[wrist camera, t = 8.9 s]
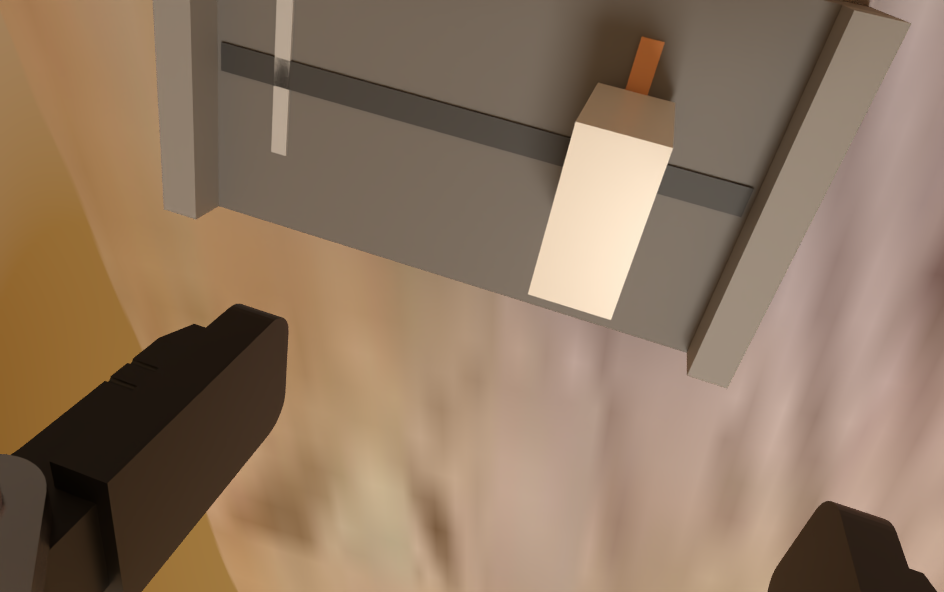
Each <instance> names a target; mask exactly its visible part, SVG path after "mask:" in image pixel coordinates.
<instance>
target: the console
mask: <svg viewBox="0 0 944 592" xmlns="http://www.w3.org/2000/svg"><path fill="white" fill-rule="evenodd" d="M153 15H154V34H155V52H156V71H157V89H158V108H159V127H160V145H161V164H162V182H163V201H164V209H165V210H168V211H171V212H174V213H177V214H181V215H184V216H187V217H190V218H193V219H197V218H199V217H201V216H202V215H204V214H206V213H208V212H209V211H211V210H213V209H214V208H216V207H218V206H220V207H224V208H227V209H230V210H233V211H236V212H240V213H243V214H246V215H249V216H252V217H256V218H259V219H262V220H265V221H268V222H272V223H275V224H278V225H281V226H284V227H287V228H291V229H294V230H297V231H300V232H303V233H307V234H310V235H313V236H316V237H319V238H323V239H326V240H329V241H332V242H335V243H339V244H342V245H345V246H348V247H351V248H354V249H358V250H361V251H364V252H367V253H370V254H374V255H377V256H380V257H383V258H386V259H390V260H393V261H396V262H399V263H402V264H405V265H409V266H412V267H415V268H418V269H421V270H425V271H428V272H431V273H434V274H437V275H441V276H444V277H447V278H450V279H453V280H457V281H460V282H463V283H466V284H469V285H472V286H476V287H479V288H482V289H485V290H488V291H492V292H495V293H498V294H501V295H504V296H508V297H511V298H514V299H517V300H520V301H524V302H527V303H530V304H533V305H536V306H539V307H543V308H546V309H549V310H552V311H555V312H559V313H562V314H565V315H568V316H571V317H575V318H578V319H581V320H584V321H587V322H590V323H594V324H597V325H600V326H603V327H606V328H610V329H613V330H616V331H619V332H622V333H626V334H629V335H632V336H635V337H638V338H642V339H645V340H648V341H651V342H654V343H657V344H661V345H664V346H667V347H670V348H673V349H677V350H680V351H683V352H686V353H687V376H689V377H693V378H696V379H699V380H702V381H705V382H708V383H711V384H715V385H718V386H721V387H724V388H728V386H729V384H730V382H731V380H732V378H733V376H734V374H735V372H736V370H737V368H738V366H739V364H740V362H741V360H742V358H743V356H744V354H745V352H746V350H747V348H748V346H749V344H750V342H751V341H752V339H753V337H754V335H755V333H756V331H757V329H758V327H759V325H760V323H761V321H762V319H763V317H764V315H765V313H766V311H767V309H768V307H769V305H770V303H771V301H772V299H773V297H774V295H775V293H776V291H777V289H778V287H779V285H780V283H781V281H782V279H783V277H784V275H785V273H786V271H787V269H788V267H789V265H790V263H791V261H792V259H793V257H794V255H795V253H796V251H797V249H798V247H799V245H800V243H801V241H802V239H803V237H804V235H805V233H806V231H807V230H808V228H809V226H810V224H811V222H812V220H813V218H814V216H815V214H816V212H817V210H818V208H819V206H820V204H821V202H822V200H823V198H824V196H825V194H826V192H827V190H828V188H829V186H830V184H831V182H832V180H833V178H834V176H835V174H836V172H837V170H838V168H839V166H840V164H841V162H842V160H843V158H844V156H845V154H846V152H847V150H848V148H849V146H850V144H851V142H852V140H853V138H854V136H855V134H856V132H857V130H858V128H859V126H860V124H861V122H862V121H863V119H864V117H865V115H866V113H867V111H868V109H869V107H870V105H871V103H872V101H873V99H874V97H875V95H876V93H877V91H878V89H879V87H880V85H881V83H882V81H883V79H884V77H885V75H886V73H887V71H888V69H889V67H890V65H891V63H892V61H893V59H894V57H895V55H896V53H897V51H898V49H899V47H900V45H901V43H902V41H903V39H904V37H905V35H906V33H907V31H908V29H909V27H910V25H911V23H909V22H906V21H904V20H901V19H899V18H896V17H894V16H891V15H889V14H886V13H884V12H881V11H879V10H876V9H874V8H871V7H868V6H864V5H859V4H855V3H851V2H847V1H842V0H153ZM598 83H602V84H606V85H609V86H613V87H617V88H621V89H625V90H628V91H632V92H636V93H640V94H644V95H648V96H651V97H655V98H659V99H663V100H667V101H670V102H674V103H675V121H674V141H673V150H672V153H671V155H670V158H669V161H668V164H667V166H666V169H665V172H664V175H663V177H662V180H661V183H660V186H659V189H658V191H657V194H656V197H655V200H654V202H653V205H652V208H651V211H650V213H649V216H648V219H647V222H646V224H645V227H644V230H643V233H642V235H641V238H640V241H639V244H638V247H637V249H636V252H635V255H634V258H633V260H632V263H631V266H630V269H629V271H628V274H627V277H626V280H625V282H624V285H623V288H622V291H621V293H620V296H619V299H618V302H617V305H616V307H615V310H614V313H613V316H612V318H611V320H609V319H606V318H602V317H599V316H596V315H593V314H590V313H586V312H583V311H580V310H577V309H574V308H570V307H567V306H564V305H561V304H558V303H554V302H551V301H548V300H545V299H541V298H538V297H535V296H532V295H529V294H528V292H529V288H530V284H531V281H532V277H533V274H534V270H535V266H536V263H537V259H538V256H539V252H540V248H541V245H542V241H543V238H544V234H545V230H546V227H547V223H548V219H549V216H550V212H551V209H552V205H553V201H554V198H555V194H556V191H557V187H558V183H559V180H560V176H561V173H562V169H563V165H564V162H565V158H566V154H567V151H568V147H569V144H570V140H571V136H572V133H573V129H574V126H575V122H576V120H577V118H578V117H579V115H580V113H581V111H582V110H583V108H584V106H585V104H586V103H587V101H588V99H589V97H590V96H591V94H592V92H593V90H594V89H595V87H596V85H597V84H598Z"/></svg>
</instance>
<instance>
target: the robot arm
mask: <svg viewBox="0 0 944 592" xmlns="http://www.w3.org/2000/svg"><path fill="white" fill-rule="evenodd" d="M287 349H288V324H287V321H286V320H285V319H284V318H282V317H279V316H276V315H273V314H270V313H267V312H264V311H261V310H258V309H255V308H252V307H249V306H246V305H243V304H235V305H233V306H231V307H230V308H229V309H227V310H226V311H225V312H224V313H223V314H222V315H220V316H219V317H218V318H217V319H216V320H214V321H213V322H212V323H211V324H210V325H209V326H207V327H206V328H205V327H202V326H199V325H196V324H193V325H190V326H188V327H185V328H183V329H180V330H178V331H175V332H173V333H170V334H168V335H165V336H163V337H160V338H158V339H157V340H156V341H155V342H153V343H152V344H151V345H150V346H148V347H147V348H146V349H145V350H143V351H142V352H141V353H140V354H138V355H137V356H136V357H134V358H133V361H132V363H131V364H129V363H127V364H126V365H125V366H123V367H122V368H121V369H119V370H118V371H117V372H116V373H115V374H113V375H112V376H111V378H110V381H109V382H106V381H104V382H103V383H102V384H100V385H99V386H98V387H97V388H96V389H94V390H93V391H92V392H91V393H89V394H88V395H87V396H85V397H84V398H83V399H82V400H80V401H79V402H78V403H77V404H75V405H74V406H73V407H72V408H70V409H69V410H68V411H67V412H65V413H64V414H63V415H62V416H60V417H59V418H58V419H57V420H55V421H54V422H53V423H51V424H50V425H49V426H48V427H46V428H45V429H44V430H43V431H41V432H40V433H39V434H38V435H36V436H35V437H34V438H33V439H31V440H30V441H29V442H28V443H26V444H25V445H24V446H23V447H21V448H20V449H19V450H17V451H16V452H14V453H13V454H11V455H7V454H0V592H142V591H143V589H144V588H145V587H146V586H147V584H148V583H149V582H150V581H151V579H152V578H153V577H154V576H155V574H156V573H157V572H158V571H159V569H160V568H161V567H162V566H163V564H164V563H165V562H166V561H167V560H168V558H169V557H170V556H171V555H172V553H173V552H174V551H175V550H176V549H177V547H178V546H179V545H180V544H181V542H182V541H183V540H184V539H185V537H186V536H187V535H188V534H189V532H190V531H191V530H192V529H193V527H194V526H195V525H196V524H197V523H198V521H199V520H200V519H201V518H202V516H203V515H204V514H205V513H206V511H207V510H208V509H209V508H210V506H211V505H212V504H213V503H214V502H215V500H216V499H217V498H218V497H219V495H220V494H221V493H222V492H223V490H224V489H225V488H226V487H227V485H228V484H229V483H230V482H231V480H232V479H233V478H234V477H235V476H236V474H237V473H238V472H239V471H240V469H241V468H242V467H243V466H244V464H245V463H246V462H247V461H248V459H249V458H250V457H251V456H252V455H253V453H254V452H255V451H256V450H257V448H258V447H259V446H260V445H261V443H262V442H263V441H264V440H265V438H266V437H267V436H268V435H269V433H270V432H271V431H272V429H273V427H274V426H275V424H276V422H277V420H278V418H279V415H280V413H281V410H282V407H283V403H284V399H285V388H286V368H287ZM768 592H937V591H936V590H935V588H934V587H933V586H932V584H931V583H930V582H929V580H928V579H927V578H926V576H925V575H924V574H923V573H921V572H918V571H915V570H912V569H909V567H908V564H907V561H906V559H905V556H904V553H903V550H902V547H901V544H900V541H899V538H898V536H897V533H896V530H895V528H894V526H893V525H892V524H891V523H890V522H889V521H888V520H886V519H883V518H880V517H877V516H874V515H871V514H868V513H865V512H862V511H859V510H856V509H853V508H850V507H847V506H844V505H841V504H838V503H835V502H832V501H826V502H824V503H822V504H821V505H820V506H819V507H818V508H817V509H816V510H815V512H814V513H813V515H812V516H811V518H810V519H809V521H808V522H807V524H806V525H805V526H804V528H803V529H802V531H801V532H800V534H799V535H798V537H797V538H796V539H795V541H794V542H793V544H792V545H791V547H790V548H789V550H788V551H787V552H786V554H785V555H784V557H783V558H782V560H781V561H780V563H779V564H778V566H777V567H776V569H775V571H774V573H773V575H772V578H771V581H770V584H769V588H768Z"/></svg>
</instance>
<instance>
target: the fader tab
mask: <svg viewBox="0 0 944 592" xmlns="http://www.w3.org/2000/svg"><path fill="white" fill-rule="evenodd" d="M674 121H675V103H674V102H670V101H667V100H663V99H659V98H655V97H651V96H648V95H644V94H640V93H636V92H632V91H628V90H625V89H621V88H617V87H613V86H609V85H606V84H602V83H598V84H597V85H596V87H595V89H594V90H593V92H592V94H591V96H590V97H589V99H588V101H587V103H586V104H585V106H584V108H583V110H582V111H581V113H580V115H579V117H578V118H577V120H576V122H575V126H574V129H573V133H572V136H571V140H570V144H569V147H568V151H567V154H566V158H565V162H564V165H563V169H562V173H561V176H560V180H559V183H558V187H557V191H556V194H555V198H554V201H553V205H552V209H551V212H550V216H549V219H548V223H547V227H546V230H545V234H544V238H543V241H542V245H541V248H540V252H539V256H538V259H537V263H536V266H535V270H534V274H533V277H532V281H531V284H530V288H529V292H528V294H529V295H532V296H535V297H538V298H541V299H545V300H548V301H551V302H554V303H558V304H561V305H564V306H567V307H570V308H574V309H577V310H580V311H583V312H586V313H590V314H593V315H596V316H599V317H602V318H606V319H609V320H611V318H612V316H613V313H614V310H615V307H616V305H617V302H618V299H619V296H620V293H621V291H622V288H623V285H624V282H625V280H626V277H627V274H628V271H629V269H630V266H631V263H632V260H633V258H634V255H635V252H636V249H637V247H638V244H639V241H640V238H641V235H642V233H643V230H644V227H645V224H646V222H647V219H648V216H649V213H650V211H651V208H652V205H653V202H654V200H655V197H656V194H657V191H658V189H659V186H660V183H661V180H662V177H663V175H664V172H665V169H666V166H667V164H668V161H669V158H670V155H671V153H672V150H673V141H674Z"/></svg>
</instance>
